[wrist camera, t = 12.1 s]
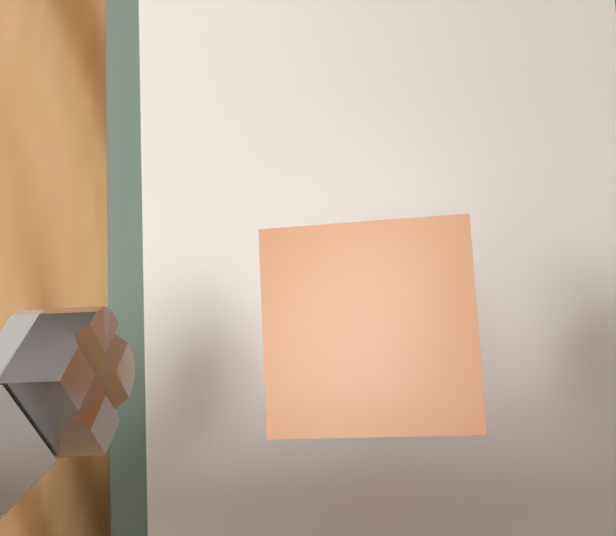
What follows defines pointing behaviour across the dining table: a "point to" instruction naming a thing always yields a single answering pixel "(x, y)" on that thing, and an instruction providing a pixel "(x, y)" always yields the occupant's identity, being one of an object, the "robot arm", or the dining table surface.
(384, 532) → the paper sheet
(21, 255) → the dining table surface
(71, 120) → the dining table surface
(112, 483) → the mat
